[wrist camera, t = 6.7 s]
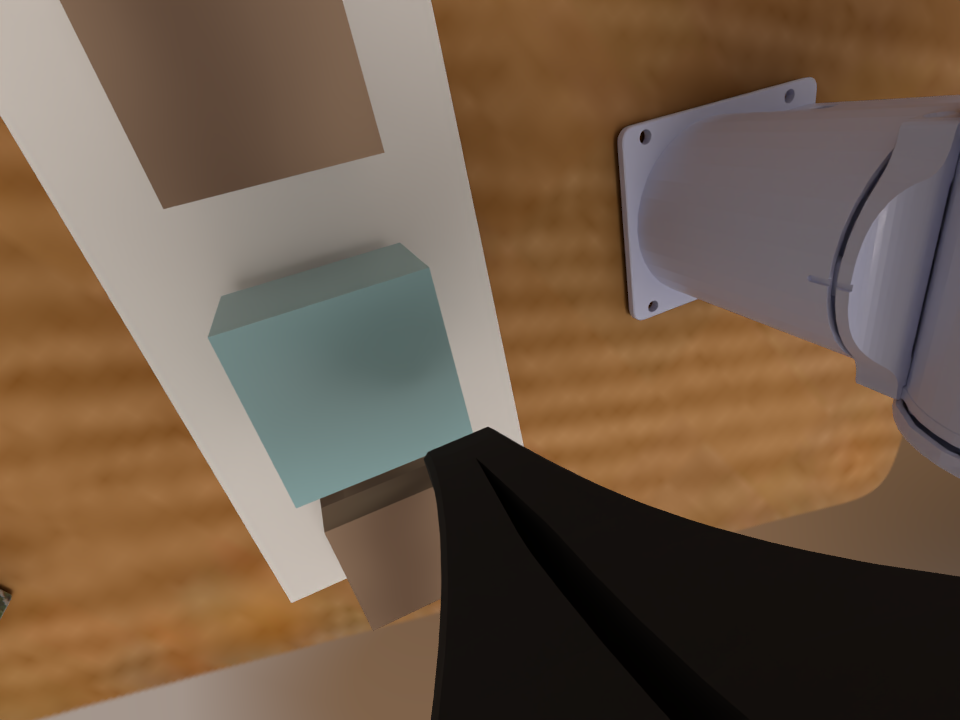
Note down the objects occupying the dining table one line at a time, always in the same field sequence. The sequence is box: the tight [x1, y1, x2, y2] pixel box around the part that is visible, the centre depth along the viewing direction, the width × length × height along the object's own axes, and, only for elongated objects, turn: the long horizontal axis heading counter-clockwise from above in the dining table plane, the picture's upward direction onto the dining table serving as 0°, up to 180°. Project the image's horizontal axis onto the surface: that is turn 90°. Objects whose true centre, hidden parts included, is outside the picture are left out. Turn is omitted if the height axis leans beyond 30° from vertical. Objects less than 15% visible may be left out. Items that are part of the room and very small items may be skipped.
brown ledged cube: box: [60, 0, 385, 209], centre depth 12 cm, size 5×5×3 cm
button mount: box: [0, 0, 524, 603], centre depth 16 cm, size 11×21×4 cm, turn 10°
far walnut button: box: [320, 456, 441, 631], centre depth 19 cm, size 5×5×3 cm
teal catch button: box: [208, 243, 473, 508], centre depth 14 cm, size 5×5×3 cm
